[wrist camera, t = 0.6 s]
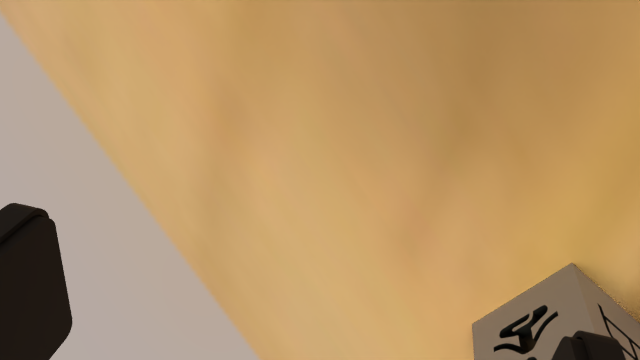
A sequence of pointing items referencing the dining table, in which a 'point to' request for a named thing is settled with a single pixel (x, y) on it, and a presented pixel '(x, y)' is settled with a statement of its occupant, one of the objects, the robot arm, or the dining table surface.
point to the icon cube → (553, 320)
